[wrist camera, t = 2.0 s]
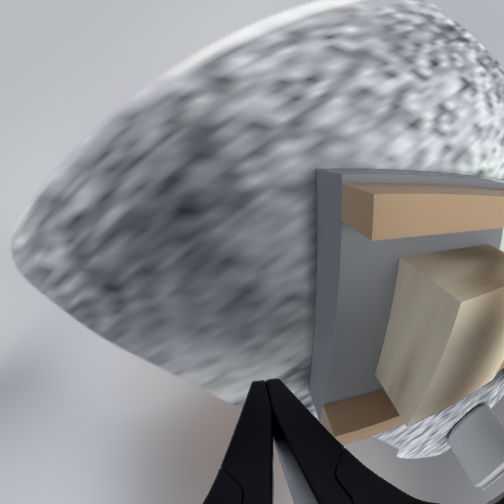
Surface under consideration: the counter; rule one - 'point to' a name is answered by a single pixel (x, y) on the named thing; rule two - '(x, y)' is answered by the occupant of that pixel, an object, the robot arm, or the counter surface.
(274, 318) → the counter surface
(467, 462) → the can
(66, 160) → the counter surface
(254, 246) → the counter surface
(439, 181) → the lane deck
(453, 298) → the maple block
